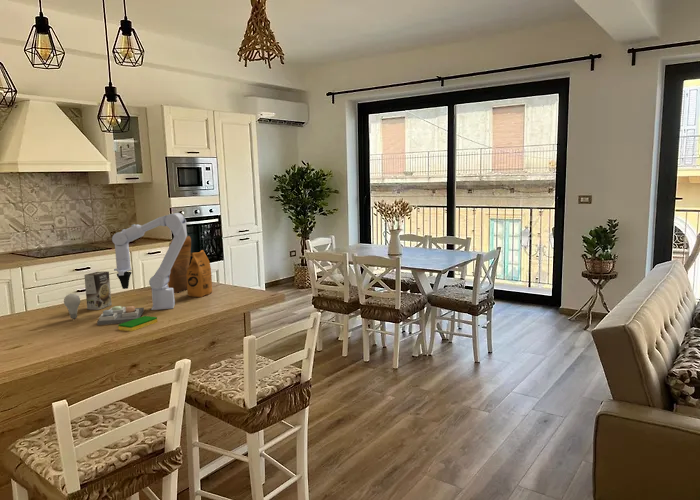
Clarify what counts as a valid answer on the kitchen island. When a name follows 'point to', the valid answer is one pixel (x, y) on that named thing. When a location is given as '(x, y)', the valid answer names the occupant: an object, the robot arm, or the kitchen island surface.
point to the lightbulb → (72, 304)
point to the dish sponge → (137, 323)
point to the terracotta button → (130, 309)
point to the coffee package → (199, 275)
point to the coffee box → (97, 290)
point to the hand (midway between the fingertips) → (125, 288)
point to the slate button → (107, 313)
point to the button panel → (120, 316)
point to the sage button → (116, 308)
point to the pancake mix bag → (180, 268)
